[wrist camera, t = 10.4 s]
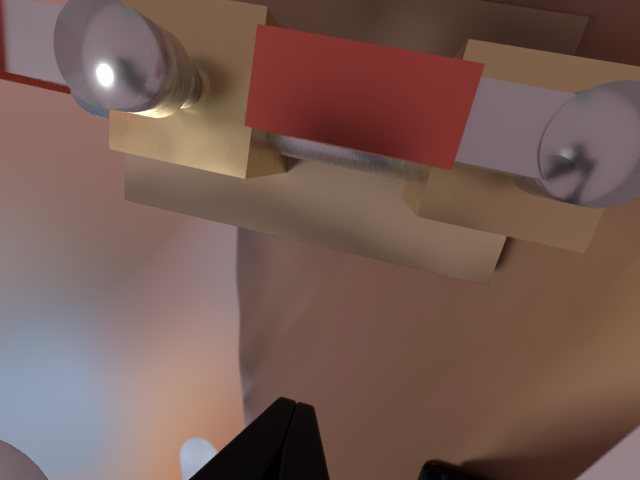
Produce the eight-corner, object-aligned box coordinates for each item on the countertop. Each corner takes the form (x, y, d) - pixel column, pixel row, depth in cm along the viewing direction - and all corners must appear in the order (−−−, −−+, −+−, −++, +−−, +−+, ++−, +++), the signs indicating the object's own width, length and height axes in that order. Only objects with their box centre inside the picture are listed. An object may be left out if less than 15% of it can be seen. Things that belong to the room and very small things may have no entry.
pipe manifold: (508, 220, 16) (689, 299, 7) (110, 134, 18) (-148, 110, 9) (551, 105, 15) (853, 15, 6) (111, 27, 17) (-196, -130, 8)
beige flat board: (479, 276, 19) (488, 285, 17) (141, 197, 21) (124, 199, 19) (568, 30, 15) (589, 16, 14) (150, -35, 17) (130, -52, 16)
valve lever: (626, 109, 8) (715, 92, 6) (583, 206, 9) (650, 221, 7) (284, 47, 9) (258, 13, 7) (270, 139, 10) (243, 134, 8)
